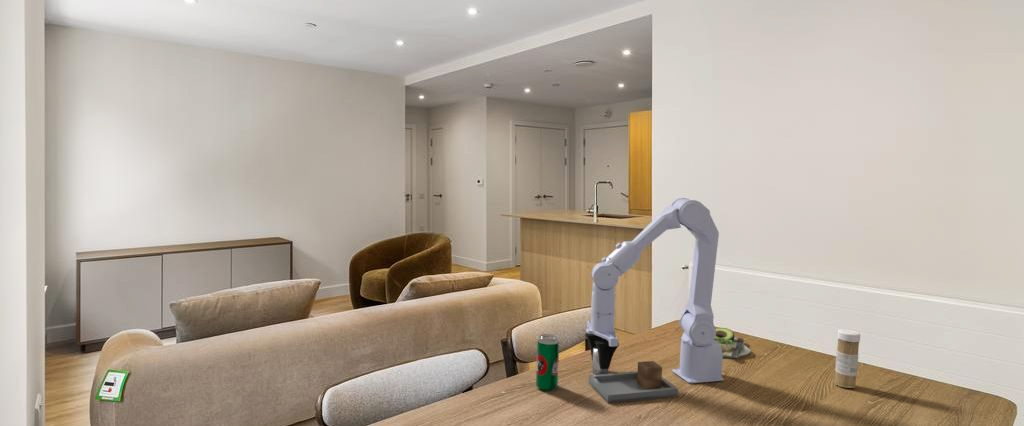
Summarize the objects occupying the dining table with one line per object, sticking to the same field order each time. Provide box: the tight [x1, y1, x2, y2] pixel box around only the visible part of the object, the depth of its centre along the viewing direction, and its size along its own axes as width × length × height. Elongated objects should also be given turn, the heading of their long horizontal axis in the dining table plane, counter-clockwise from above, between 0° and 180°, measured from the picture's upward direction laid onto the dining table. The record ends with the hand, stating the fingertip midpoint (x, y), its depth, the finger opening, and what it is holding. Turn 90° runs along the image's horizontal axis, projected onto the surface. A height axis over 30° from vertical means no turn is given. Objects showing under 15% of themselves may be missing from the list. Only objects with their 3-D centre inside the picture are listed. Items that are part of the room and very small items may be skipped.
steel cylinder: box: [591, 347, 610, 375], centre depth 131 cm, size 4×4×6 cm
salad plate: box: [714, 327, 751, 359], centre depth 149 cm, size 19×18×5 cm
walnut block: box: [637, 360, 663, 390], centre depth 122 cm, size 4×4×5 cm
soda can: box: [535, 333, 560, 392], centre depth 121 cm, size 5×5×12 cm
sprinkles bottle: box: [833, 328, 861, 389], centre depth 125 cm, size 5×5×14 cm
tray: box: [587, 371, 679, 404], centre depth 121 cm, size 17×11×2 cm, turn 104°
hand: (600, 365), depth 131 cm, fingers closed on steel cylinder, 4 cm apart
